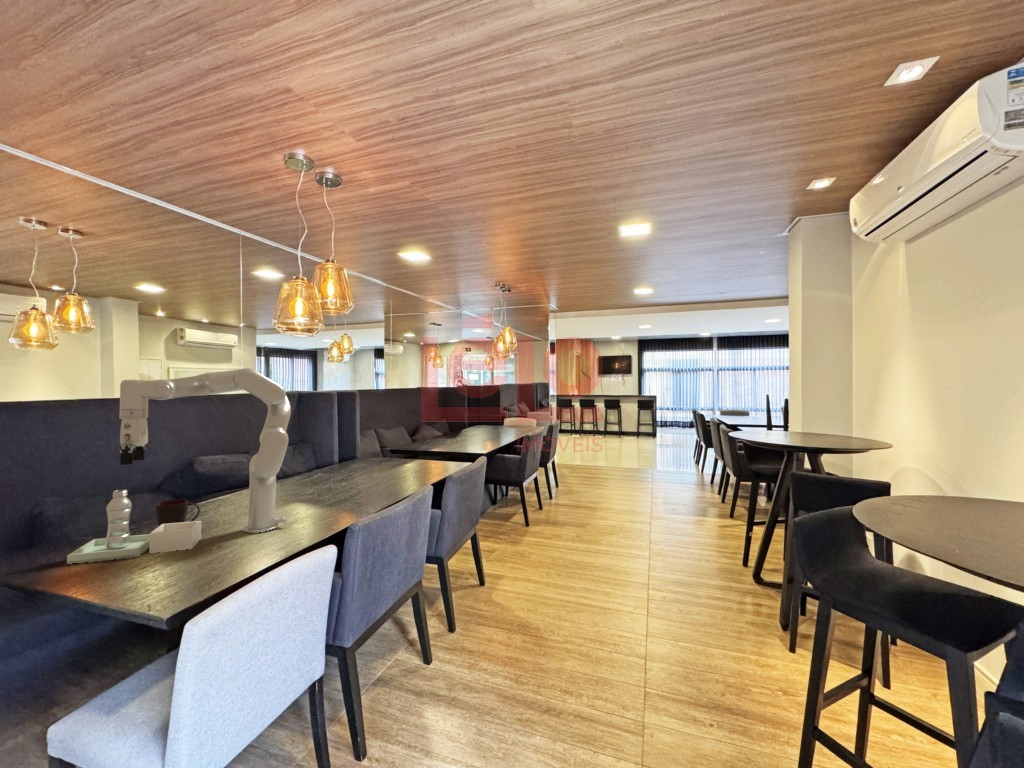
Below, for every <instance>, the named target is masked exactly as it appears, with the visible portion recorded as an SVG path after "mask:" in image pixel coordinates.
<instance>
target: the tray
mask: <svg viewBox="0 0 1024 768" xmlns="http://www.w3.org/2000/svg"><path fill="white" fill-rule="evenodd" d="M130 536H131V540H130V543H129V544H128V545H127V546H126V547H123V548H119V549H107V548H106V547H105V539H106V537H105V538H93V539H92V540H90V541H88V542H86V543H85V544H84V545H82V546H80V547H79V548H76V549H75V550H73V551H72V552H71V553H69V554H67V555H66V556H67V557H66V565H67V564H70V565H73V564H72V563H79V564H86V563H85V562H88V563H94V562H95V561H97V562H105V561H106V560H107V561H114V559H116V560H123V558H125V559H133V558H132V557H135V558H139V557H140V556H141V554H142V553H143V554H144V553H145V552H146V551H148V550H149V549H148V548H149V546H150V533H149V534H140V535H139V534H138V535H137V534H136V535H130ZM147 549H148V550H147ZM143 554H142V555H143ZM95 563H96V562H95Z"/></svg>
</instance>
